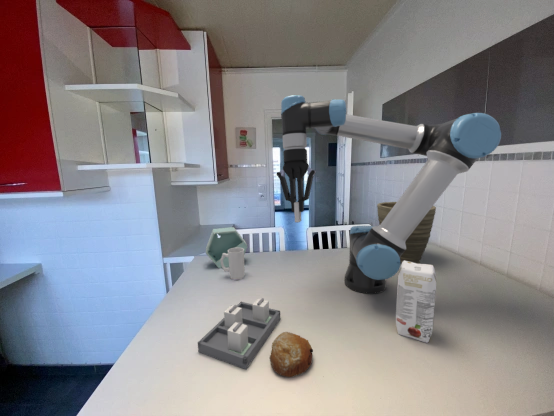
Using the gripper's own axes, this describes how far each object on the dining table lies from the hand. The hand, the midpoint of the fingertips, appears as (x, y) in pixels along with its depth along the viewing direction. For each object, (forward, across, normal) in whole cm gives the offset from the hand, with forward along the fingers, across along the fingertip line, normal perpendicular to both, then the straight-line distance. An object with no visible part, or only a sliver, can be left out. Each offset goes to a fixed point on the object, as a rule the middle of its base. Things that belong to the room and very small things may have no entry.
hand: (298, 221), depth 78 cm
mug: (+27, +32, -7) cm, 43 cm away
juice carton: (+29, -33, +7) cm, 45 cm away
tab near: (+26, +8, +29) cm, 40 cm away
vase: (+29, -37, -49) cm, 68 cm away
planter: (+27, +43, -19) cm, 54 cm away
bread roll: (+28, -5, +27) cm, 39 cm away
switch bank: (+27, +11, +23) cm, 37 cm away
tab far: (+26, +8, +17) cm, 32 cm away
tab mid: (+26, +14, +23) cm, 37 cm away
